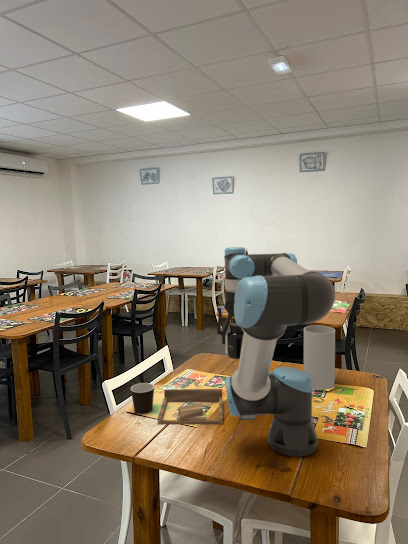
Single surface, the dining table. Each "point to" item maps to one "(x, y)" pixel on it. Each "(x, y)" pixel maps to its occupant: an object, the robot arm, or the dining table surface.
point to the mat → (248, 418)
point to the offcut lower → (194, 417)
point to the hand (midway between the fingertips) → (236, 352)
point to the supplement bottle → (235, 341)
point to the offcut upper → (190, 411)
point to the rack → (191, 396)
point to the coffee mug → (142, 397)
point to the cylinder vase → (320, 356)
